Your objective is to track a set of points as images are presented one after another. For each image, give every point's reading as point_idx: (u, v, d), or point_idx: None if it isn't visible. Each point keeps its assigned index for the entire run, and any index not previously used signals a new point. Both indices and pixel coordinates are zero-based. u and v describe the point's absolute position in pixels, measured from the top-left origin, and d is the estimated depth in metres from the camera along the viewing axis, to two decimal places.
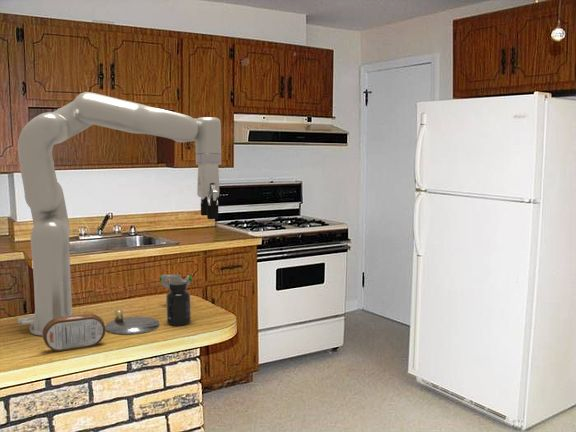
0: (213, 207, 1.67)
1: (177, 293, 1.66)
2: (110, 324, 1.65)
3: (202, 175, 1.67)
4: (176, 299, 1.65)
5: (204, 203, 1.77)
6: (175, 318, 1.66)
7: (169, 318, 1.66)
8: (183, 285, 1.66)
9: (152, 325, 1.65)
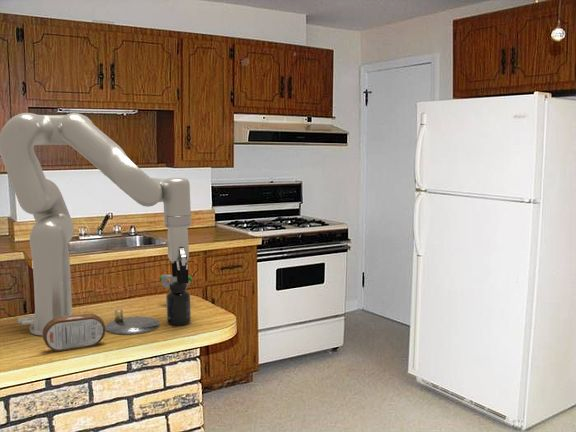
0: (182, 272, 1.62)
1: (177, 293, 1.66)
2: (110, 324, 1.65)
3: (171, 239, 1.62)
4: (176, 299, 1.65)
5: (175, 264, 1.71)
6: (175, 318, 1.66)
7: (169, 318, 1.66)
8: (183, 285, 1.66)
9: (152, 325, 1.65)
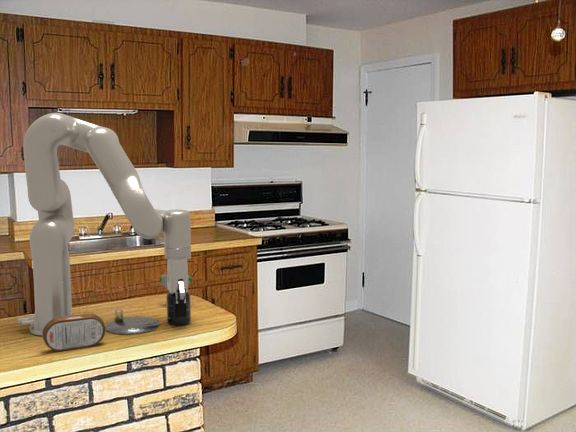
0: (181, 305, 1.64)
1: None
2: (110, 324, 1.65)
3: (170, 271, 1.63)
4: None
5: None
6: (175, 318, 1.66)
7: (169, 318, 1.66)
8: None
9: (152, 325, 1.65)
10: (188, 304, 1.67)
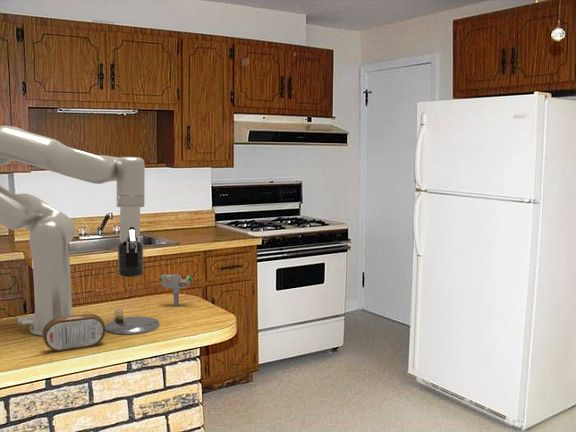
0: (131, 255, 1.59)
1: None
2: (110, 324, 1.65)
3: (121, 218, 1.58)
4: None
5: None
6: (126, 268, 1.60)
7: (120, 268, 1.61)
8: None
9: (152, 325, 1.65)
10: (140, 255, 1.62)
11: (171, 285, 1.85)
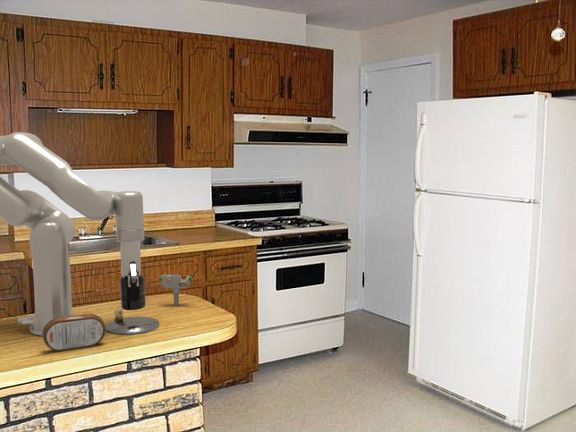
0: (133, 289, 1.60)
1: None
2: (110, 324, 1.65)
3: (122, 253, 1.59)
4: None
5: None
6: (128, 302, 1.62)
7: (122, 302, 1.62)
8: None
9: (152, 325, 1.65)
10: (142, 288, 1.63)
11: (171, 285, 1.85)
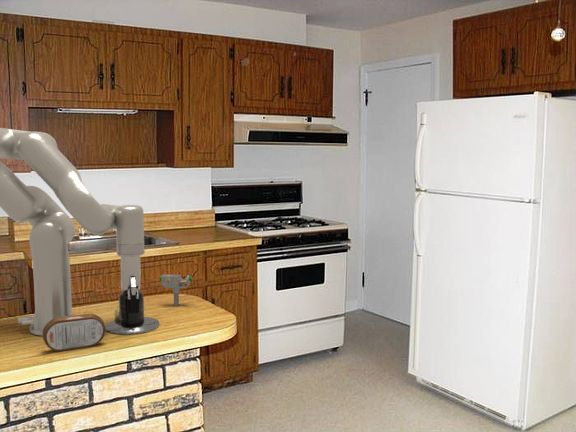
0: (133, 301, 1.59)
1: None
2: (110, 324, 1.65)
3: (122, 267, 1.60)
4: None
5: None
6: (127, 319, 1.62)
7: (121, 319, 1.63)
8: None
9: (152, 325, 1.65)
10: (141, 305, 1.64)
11: (171, 285, 1.85)
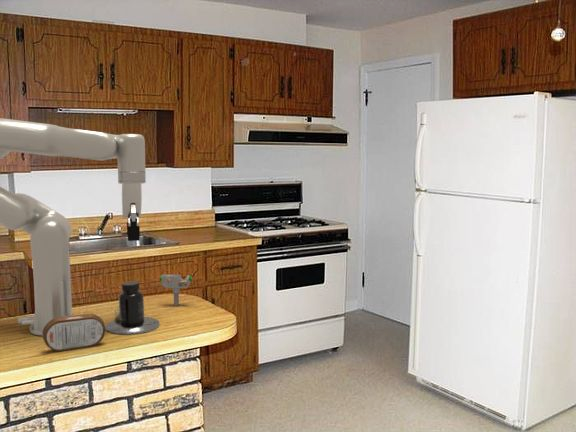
0: (133, 228, 1.60)
1: (129, 294, 1.62)
2: (110, 324, 1.65)
3: (122, 194, 1.60)
4: (128, 299, 1.61)
5: (130, 223, 1.69)
6: (127, 319, 1.62)
7: (121, 319, 1.63)
8: (135, 285, 1.63)
9: (152, 325, 1.65)
10: (141, 305, 1.64)
11: (171, 285, 1.85)
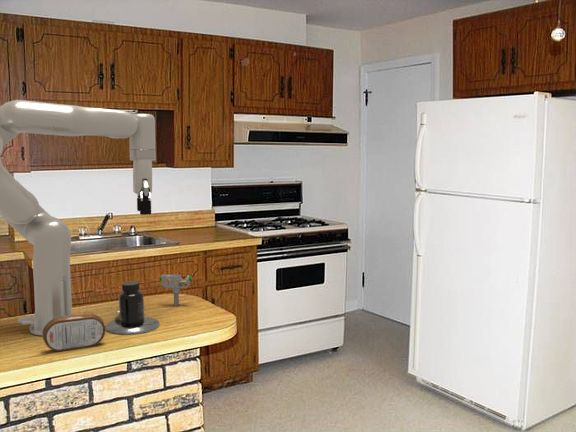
0: (145, 202, 1.69)
1: (129, 294, 1.62)
2: (110, 324, 1.65)
3: (135, 171, 1.69)
4: (128, 299, 1.61)
5: (140, 199, 1.79)
6: (127, 319, 1.62)
7: (121, 319, 1.63)
8: (135, 285, 1.63)
9: (152, 325, 1.65)
10: (141, 305, 1.64)
11: (171, 285, 1.85)
